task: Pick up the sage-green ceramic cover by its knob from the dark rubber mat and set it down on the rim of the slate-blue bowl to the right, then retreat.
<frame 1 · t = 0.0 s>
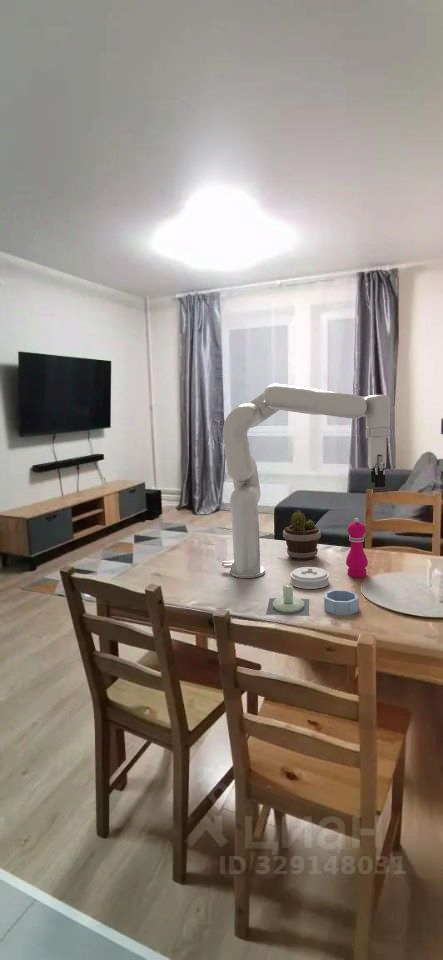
hand: (377, 484, 162), 31 cm above the table, tool pointing down, fingers open, 9 cm apart
bowl: (341, 609, 140), on the table
pepper mill: (357, 575, 168), on the table
lid: (309, 585, 161), on the table
cover: (288, 606, 142), resting on mat
mat: (288, 607, 142), on the table
flowerpot: (302, 557, 191), on the table
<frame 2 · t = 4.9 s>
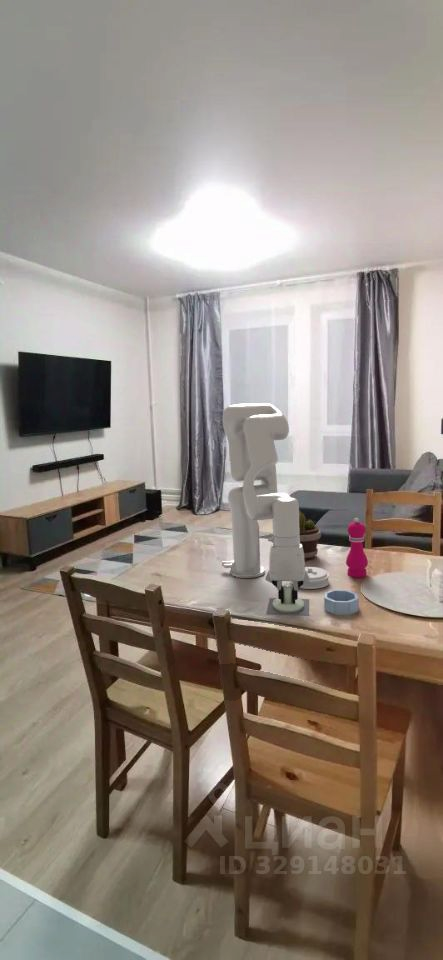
hand: (288, 601, 142), 2 cm above the table, tool pointing down, fingers closed on cover, 2 cm apart
cover: (288, 606, 142), resting on mat, touching gripper
everything else where it was.
when the fingers open (7 cm above the table, at t = 9.5 s): cover drops 2 cm, resting on bowl.
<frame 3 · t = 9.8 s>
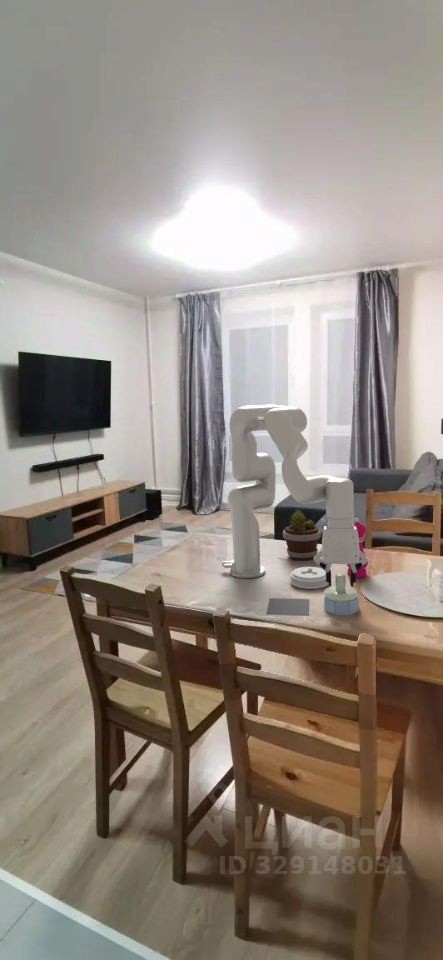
hand: (340, 584, 139), 7 cm above the table, tool pointing down, fingers open, 5 cm apart
cover: (340, 595, 139), point 4 cm above the table, touching bowl
everything else where it was.
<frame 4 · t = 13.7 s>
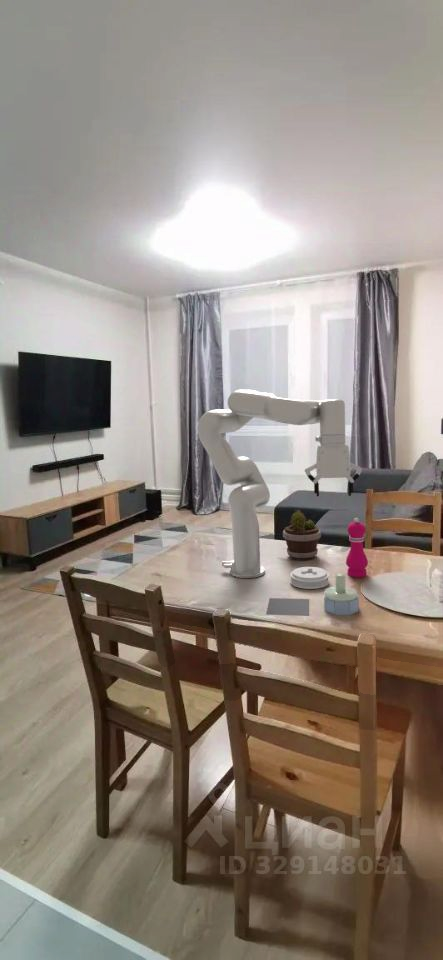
hand: (333, 495, 151), 30 cm above the table, tool pointing down, fingers open, 9 cm apart
nothing on the table moved.
at the end: cover 0.1 cm off-centre on the bowl, point 4.0 cm above the bowl's base; cover tilted 0°; the gripper is holding nothing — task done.
